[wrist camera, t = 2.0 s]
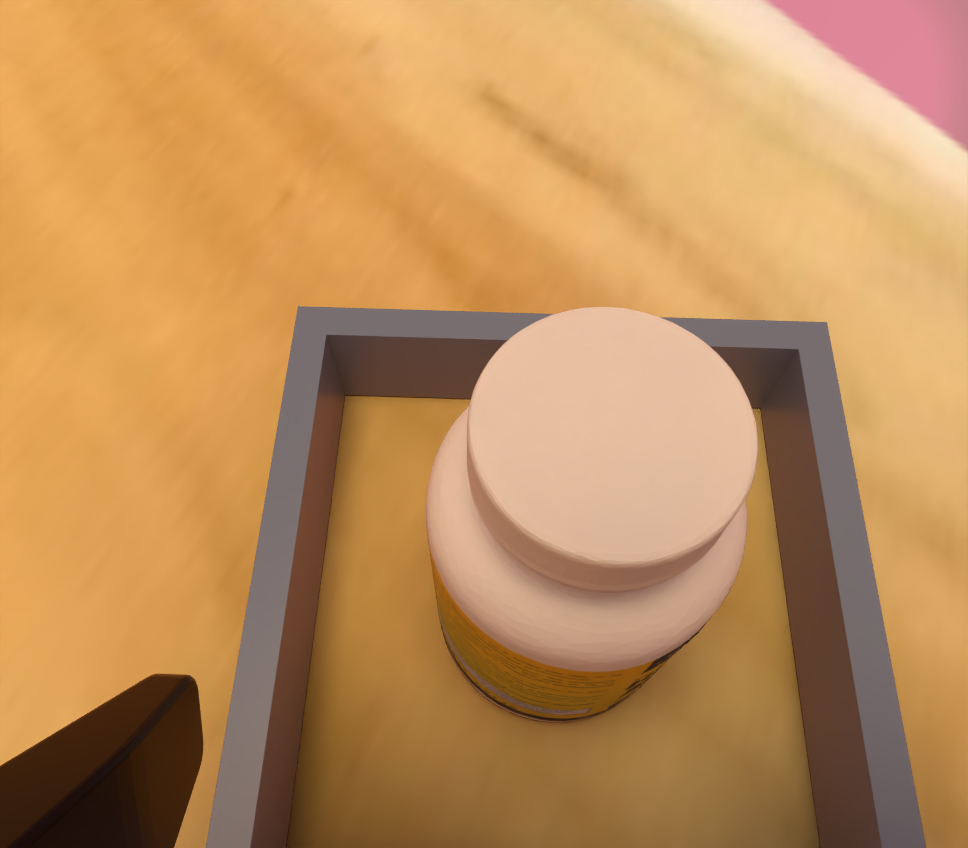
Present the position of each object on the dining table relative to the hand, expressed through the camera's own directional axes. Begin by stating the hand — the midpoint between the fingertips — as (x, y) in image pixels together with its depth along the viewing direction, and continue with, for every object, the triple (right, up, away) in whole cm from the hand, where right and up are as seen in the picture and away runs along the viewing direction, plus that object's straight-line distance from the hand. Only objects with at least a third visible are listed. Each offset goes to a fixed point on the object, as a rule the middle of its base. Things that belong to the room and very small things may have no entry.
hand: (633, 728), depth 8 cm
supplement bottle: (0, -1, +12) cm, 12 cm away
